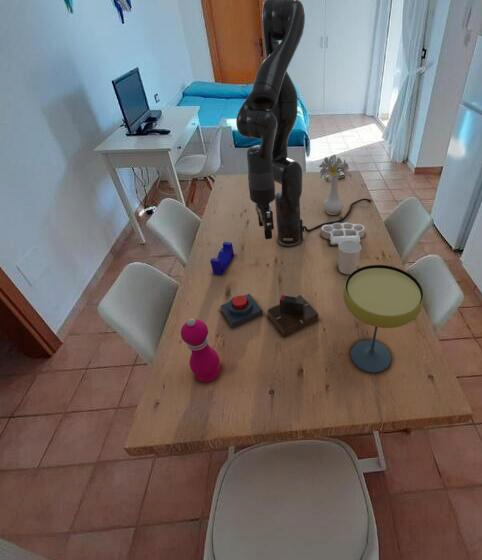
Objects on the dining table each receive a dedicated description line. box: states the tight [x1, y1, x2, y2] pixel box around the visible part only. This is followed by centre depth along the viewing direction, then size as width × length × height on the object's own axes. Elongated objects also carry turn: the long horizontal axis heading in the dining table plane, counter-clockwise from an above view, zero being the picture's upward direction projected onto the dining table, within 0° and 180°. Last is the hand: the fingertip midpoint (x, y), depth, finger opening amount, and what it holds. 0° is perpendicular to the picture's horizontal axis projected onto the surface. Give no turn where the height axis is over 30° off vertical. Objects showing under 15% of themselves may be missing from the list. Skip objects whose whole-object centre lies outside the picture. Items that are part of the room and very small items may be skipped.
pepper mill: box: [180, 317, 221, 383], centre depth 80 cm, size 7×7×20 cm
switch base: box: [266, 294, 319, 338], centre depth 100 cm, size 12×11×3 cm
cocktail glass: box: [342, 264, 425, 374], centre depth 83 cm, size 18×18×25 cm
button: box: [232, 295, 248, 309], centre depth 100 cm, size 4×4×2 cm
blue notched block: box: [210, 241, 235, 276], centre depth 120 cm, size 12×4×6 cm, turn 168°
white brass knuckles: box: [320, 222, 366, 246], centre depth 136 cm, size 3×18×15 cm
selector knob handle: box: [279, 294, 306, 316], centre depth 98 cm, size 7×2×5 cm, turn 79°
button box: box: [219, 293, 264, 329], centre depth 102 cm, size 10×9×4 cm
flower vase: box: [318, 154, 351, 216], centre depth 145 cm, size 13×18×25 cm
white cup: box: [337, 240, 362, 275], centre depth 117 cm, size 8×8×10 cm
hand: (265, 231), depth 107 cm, fingers open, 8 cm apart
